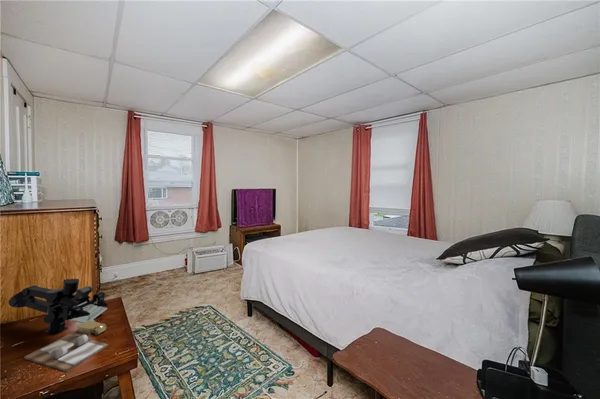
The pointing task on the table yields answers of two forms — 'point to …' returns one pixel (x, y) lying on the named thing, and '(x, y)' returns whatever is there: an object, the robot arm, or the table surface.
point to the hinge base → (55, 363)
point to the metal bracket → (93, 312)
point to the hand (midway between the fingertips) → (98, 309)
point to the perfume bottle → (91, 327)
